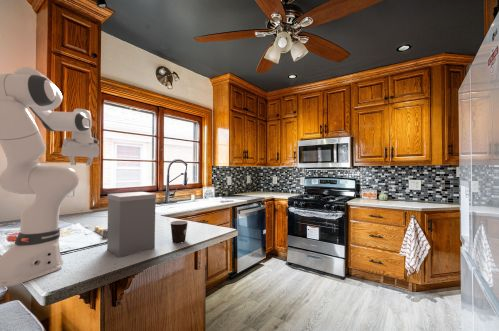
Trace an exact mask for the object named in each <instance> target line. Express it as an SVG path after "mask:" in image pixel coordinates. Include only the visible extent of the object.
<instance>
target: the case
mask: <svg viewBox="0 0 499 331" xmlns="http://www.w3.org/2000/svg"><path fill="white" fill-rule="evenodd" d="M106 197H107V229H108V234H107V238H106V240H107V241H106V243H107V244H106V245H107V247H106V248H107V250H108V252H110V253H112V254H113V255H115V256H117V258H122V257H126V256H129V255H135V254H138V253H141V252H145V251H151V250H154V249H155V245H156V199H157V193H151V192H147V191H133V192H132V191H131V192H119V193H118V192H117V193H107V196H106Z"/></svg>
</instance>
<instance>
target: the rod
mask: <svg viewBox="0 0 499 331" xmlns="http://www.w3.org/2000/svg"><path fill="white" fill-rule="evenodd" d="M94 231H95V232H96V233H98V234H99V235H101V234H102V237H103V236H104V237H107V234H108V228H105V227H104V226H101V225H95V226H94ZM104 237H103V238H104Z"/></svg>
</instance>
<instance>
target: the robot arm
mask: <svg viewBox="0 0 499 331" xmlns="http://www.w3.org/2000/svg"><path fill="white" fill-rule="evenodd" d="M62 102H63V95H62V92H61V91H60V89H59V87H58V86H56V84H55V83H54V82H52V81H51V79H50V78H48V77H47V76H46V75H44V74H43V73H42V72H40V71H39V70H37V69H35V68H32V67H21V68H17V69H16V70H14V72H13V73H0V146H1V148H2V151H3V152H4V155H5V157H6V161H7V165H6V168H5V169H4V170H3V171H2V172H1V174H0V187H1V188H2V189H3V190H4V191H6V192H10V193H14V194H18V195H35V198H34V201H33V202H32V204H30V205H28V206H26V207H25V208H23V210H22V211H21V212H20V227H19V228H20V231H19V233H18V235H17V236H16V235H10V236H8V237H7V238H6V241H7V242H9V243H14V244H13V245H12V246H11V247H9V248H8V249H7V250H6V251H5V252H4V253H3V254H2V255H0V288H7V287H13V286H17V285H20V284H22V283H25V282H29V281H31V280H34V279H36V278H40V277H42V276H45V275H48V274H51V273H53V272H56V271H59V270H61V269H62V267H63V266H62V265H63V264H64V260H63V258H62V255H61V250H60V240H59V239H60V236H61V230H60V227H59V220H60V210H61V206H62V204H63V203H64V200H65V199H66V198H67V197H68V196H69V195H70V193H72V192H74V191H75V190H76V189H77V187H78V186H79V181H80V178H79V175H78V173H77V171H76V170H75V169H74V168H70V167H66V166H60V165H42V164H41V163H40V162H39V159H40V158H41V157H43V156H44V154H45V153H46V151H47V145H46V144H45V141H44V139H43V136H42V134H41V131H40V129H39V127H38V125H37V123H36V121H35V119H34V117H33V116H32V114H31V113H30V111H31V112H32V113H33V114H34V115H35V117H36V118H38V120H39V121H40V122H41V124H42V127H44V129H46V130H47V131H49V132H71V138H69V137H65V138H64V139H63V141H62V146H61V151H60V152H61V153H60V154H61V155H62V156H63V157H68V160H69V162H70V165H71V166H77V161H75V157H78V158H79V157H82V158H87V161H86V162H85V163H86V166H92V162H93V160H94V158H99V157H100V147H99V144H100V141H99V140H98V139H96V138H95V137H93V136H92V130H91V129H92V126H93V124H92V120H93V119H92V115H91V112H90V110H87V109H85V108H80V107H79V108H75V109H73V111H57V110H56V111H54V110H55V109H58V108H59V106H60V105H61V103H62ZM28 108H29V110H30V111H29V110H28Z"/></svg>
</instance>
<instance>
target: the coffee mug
mask: <svg viewBox="0 0 499 331" xmlns="http://www.w3.org/2000/svg"><path fill="white" fill-rule="evenodd" d="M187 230H188V221H187V220H174V221H173V220H172V221H171V222H170V232H171V240H172V243H173V244H182V243H181V242H183V243H185V242H186V239H187V238H186V237H187ZM184 241H185V242H184Z"/></svg>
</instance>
